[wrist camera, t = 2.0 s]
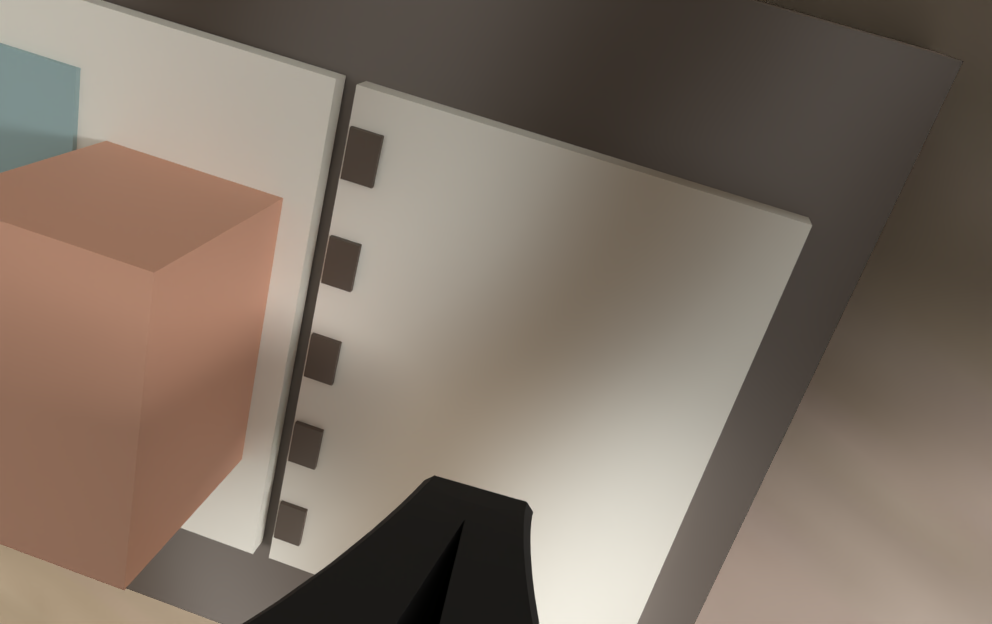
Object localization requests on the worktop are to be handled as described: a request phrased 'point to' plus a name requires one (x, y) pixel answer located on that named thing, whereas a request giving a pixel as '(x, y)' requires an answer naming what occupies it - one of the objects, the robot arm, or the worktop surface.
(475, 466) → the ticket board
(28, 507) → the stub
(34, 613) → the worktop surface
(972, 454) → the worktop surface
